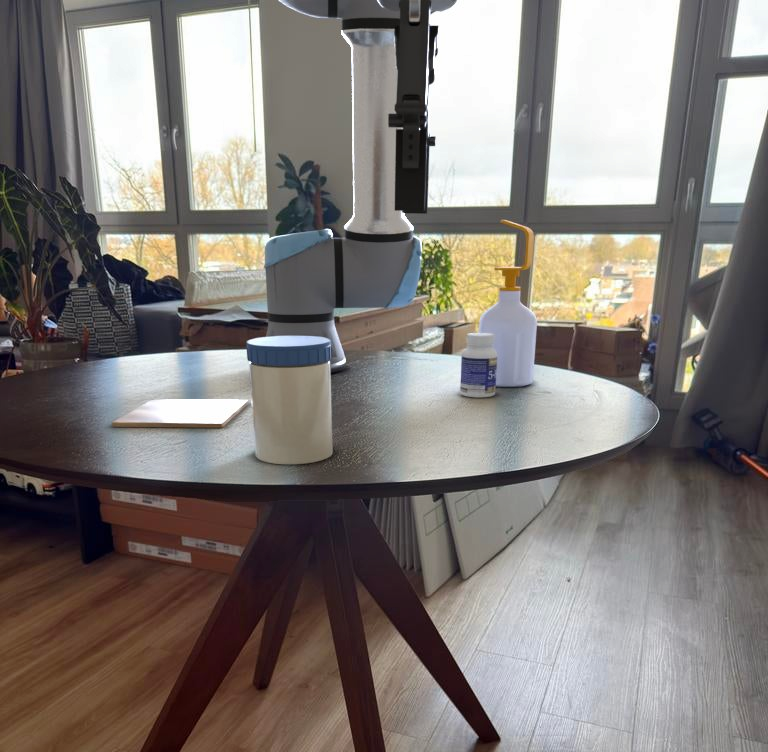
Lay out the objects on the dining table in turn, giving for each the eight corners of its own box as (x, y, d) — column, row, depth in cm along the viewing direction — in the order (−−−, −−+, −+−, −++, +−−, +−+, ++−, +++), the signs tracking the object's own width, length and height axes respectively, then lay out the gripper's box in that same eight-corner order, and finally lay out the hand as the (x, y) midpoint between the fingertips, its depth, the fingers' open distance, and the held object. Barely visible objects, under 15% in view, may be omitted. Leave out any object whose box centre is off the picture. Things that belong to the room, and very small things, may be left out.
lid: (257, 353, 80) (256, 335, 79) (336, 353, 79) (335, 335, 78) (238, 365, 71) (236, 346, 71) (325, 366, 71) (325, 346, 70)
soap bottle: (484, 376, 123) (491, 220, 114) (537, 379, 120) (549, 220, 111) (470, 385, 115) (476, 219, 106) (527, 389, 112) (538, 218, 103)
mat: (152, 403, 104) (151, 399, 103) (248, 404, 103) (248, 399, 103) (112, 426, 90) (111, 422, 90) (222, 428, 90) (221, 423, 89)
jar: (264, 442, 83) (258, 340, 79) (337, 443, 82) (334, 340, 78) (247, 464, 75) (239, 351, 71) (327, 465, 75) (323, 351, 71)
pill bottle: (494, 398, 105) (497, 336, 102) (458, 397, 106) (460, 336, 103) (496, 391, 110) (499, 332, 107) (462, 390, 111) (464, 331, 108)
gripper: (386, -6, 75) (383, 213, 83) (362, -109, 52) (361, 208, 60) (458, -7, 75) (449, 214, 83) (466, -111, 52) (452, 209, 60)
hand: (412, 212), depth 71 cm, fingers open, 13 cm apart
